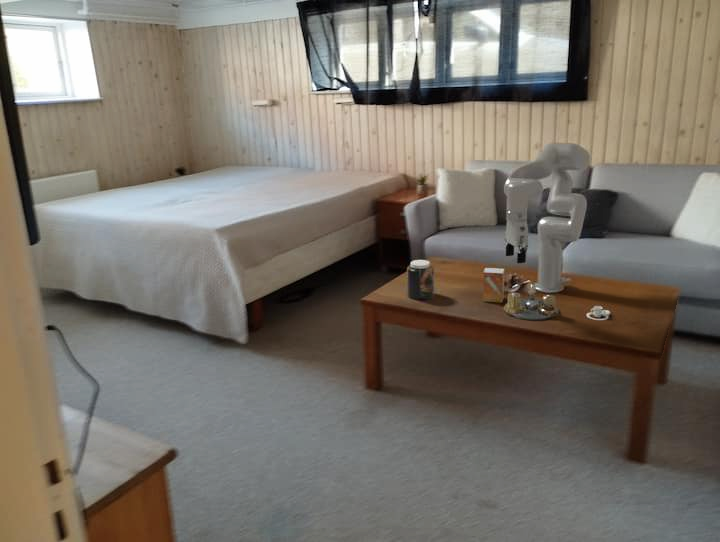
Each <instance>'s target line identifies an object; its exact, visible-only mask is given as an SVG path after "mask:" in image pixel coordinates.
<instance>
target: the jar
mask: <svg viewBox="0 0 720 542" xmlns="http://www.w3.org/2000/svg"><path fill="white" fill-rule="evenodd" d="M430 262H431V261H429V260H425V259H415V260H412V261H411V262H410V264H409V265H408V266H407V268H406V292H407V294H406V295H407V297H408V298H409V299H411V300H416V301H427V300H430V299H433V298H434V297H435V270H434V266H433V265H431V263H430Z"/></svg>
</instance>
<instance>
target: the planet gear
mask: <svg viewBox="0 0 720 542" xmlns="http://www.w3.org/2000/svg"><path fill="white" fill-rule="evenodd" d="M512 293H516V296H512ZM520 299H522V297H521V294H520V293H519V292H508V293H507V303H508V304H507V303H505V305H503V311H505V313H507V314H508V313H513V314H516V313H522V311H524V306H521V304H520Z"/></svg>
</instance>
